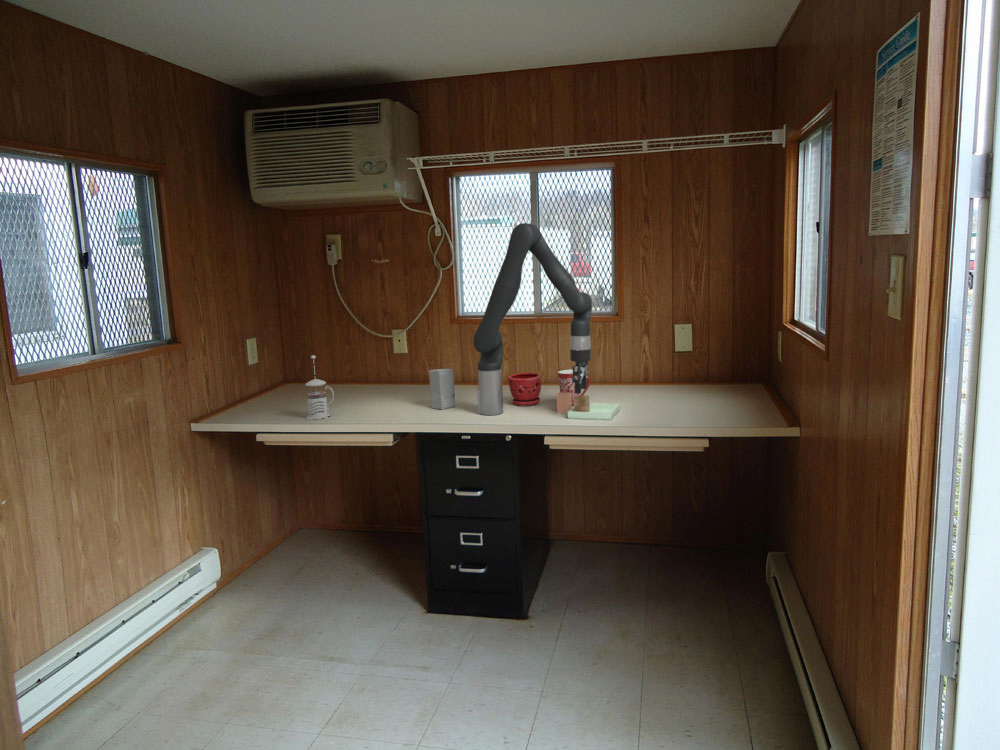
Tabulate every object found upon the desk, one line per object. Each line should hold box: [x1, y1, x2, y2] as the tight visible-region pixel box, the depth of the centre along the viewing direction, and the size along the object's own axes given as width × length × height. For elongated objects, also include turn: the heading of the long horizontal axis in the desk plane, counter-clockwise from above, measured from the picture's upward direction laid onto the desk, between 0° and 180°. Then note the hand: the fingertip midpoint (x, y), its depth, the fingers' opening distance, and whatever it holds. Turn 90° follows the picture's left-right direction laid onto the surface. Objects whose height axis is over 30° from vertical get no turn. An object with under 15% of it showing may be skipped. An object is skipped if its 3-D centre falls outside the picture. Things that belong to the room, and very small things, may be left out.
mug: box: [557, 369, 591, 407], centre depth 291 cm, size 13×9×14 cm
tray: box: [567, 402, 620, 421], centre depth 272 cm, size 16×16×3 cm
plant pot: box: [508, 372, 542, 407], centre depth 297 cm, size 13×13×12 cm
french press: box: [305, 354, 335, 418], centre depth 290 cm, size 10×12×25 cm
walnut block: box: [574, 394, 590, 412], centre depth 270 cm, size 4×4×7 cm
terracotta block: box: [556, 391, 573, 414], centre depth 280 cm, size 4×4×7 cm
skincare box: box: [428, 368, 456, 410], centre depth 298 cm, size 8×7×16 cm
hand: (580, 391), depth 269 cm, fingers open, 8 cm apart
